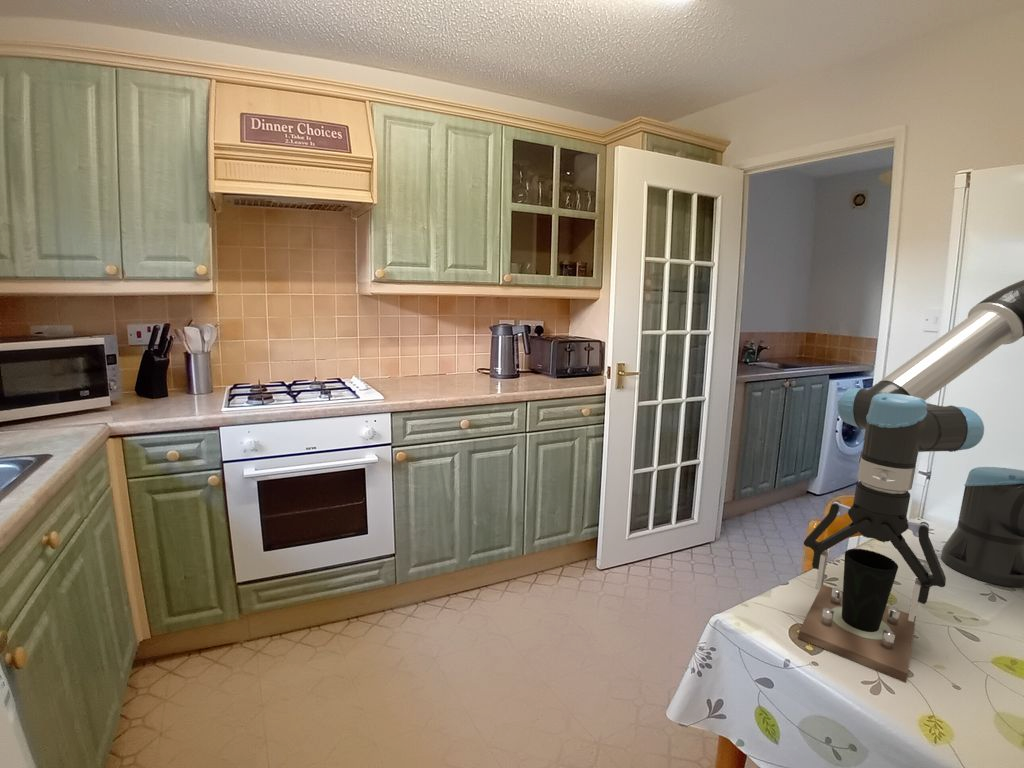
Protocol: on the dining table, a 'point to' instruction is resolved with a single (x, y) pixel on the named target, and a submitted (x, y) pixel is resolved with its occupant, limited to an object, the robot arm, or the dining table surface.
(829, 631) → the stub board
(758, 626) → the dining table surface
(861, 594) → the cup
